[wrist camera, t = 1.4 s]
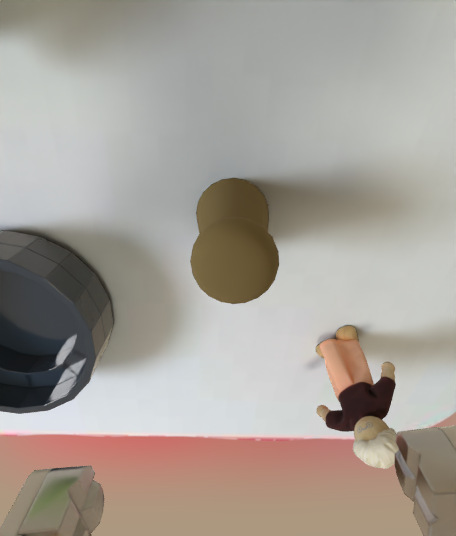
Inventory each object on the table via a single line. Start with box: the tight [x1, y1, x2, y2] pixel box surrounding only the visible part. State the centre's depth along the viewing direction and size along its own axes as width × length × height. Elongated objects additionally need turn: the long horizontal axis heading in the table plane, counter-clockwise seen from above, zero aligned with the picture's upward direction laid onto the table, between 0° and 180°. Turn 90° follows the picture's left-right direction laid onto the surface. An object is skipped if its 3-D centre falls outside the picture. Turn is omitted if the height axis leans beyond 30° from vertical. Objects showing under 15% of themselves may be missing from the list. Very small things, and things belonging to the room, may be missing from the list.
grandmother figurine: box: [316, 326, 399, 469], centre depth 29 cm, size 8×4×13 cm, turn 145°
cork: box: [191, 178, 279, 304], centre depth 24 cm, size 6×6×11 cm
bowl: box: [0, 231, 113, 414], centre depth 31 cm, size 15×16×6 cm
